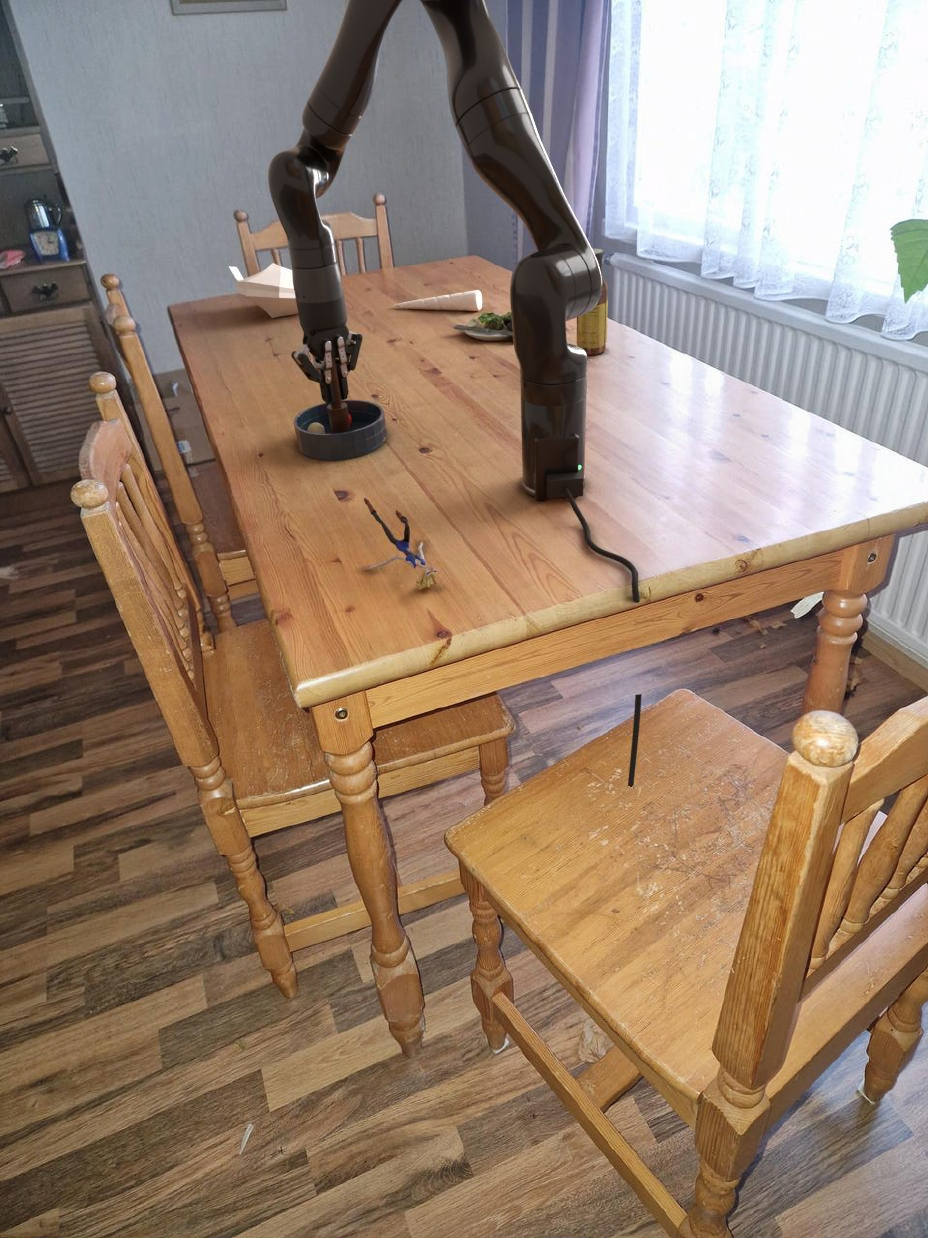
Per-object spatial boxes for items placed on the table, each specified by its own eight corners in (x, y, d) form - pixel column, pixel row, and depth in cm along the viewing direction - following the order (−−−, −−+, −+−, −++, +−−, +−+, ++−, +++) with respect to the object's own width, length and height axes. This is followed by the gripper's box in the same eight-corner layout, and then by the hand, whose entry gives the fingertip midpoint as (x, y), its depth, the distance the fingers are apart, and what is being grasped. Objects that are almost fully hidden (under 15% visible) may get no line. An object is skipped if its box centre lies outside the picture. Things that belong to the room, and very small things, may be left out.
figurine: (411, 648, 103) (351, 545, 114) (469, 613, 103) (404, 513, 114) (384, 608, 94) (322, 500, 105) (447, 570, 95) (379, 466, 105)
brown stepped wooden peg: (349, 434, 138) (337, 352, 130) (330, 435, 138) (316, 353, 130) (351, 426, 141) (339, 345, 133) (332, 427, 141) (318, 347, 133)
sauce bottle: (586, 344, 174) (589, 245, 162) (612, 349, 170) (616, 247, 159) (569, 353, 170) (571, 252, 158) (595, 358, 166) (598, 255, 155)
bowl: (384, 456, 134) (381, 431, 132) (292, 463, 134) (287, 437, 132) (389, 420, 147) (386, 396, 144) (304, 426, 147) (300, 402, 144)
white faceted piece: (348, 304, 213) (341, 253, 205) (284, 330, 197) (274, 276, 190) (280, 295, 225) (271, 247, 217) (214, 319, 209) (202, 268, 202)
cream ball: (325, 442, 139) (322, 426, 137) (307, 443, 139) (304, 427, 137) (327, 435, 141) (324, 419, 140) (310, 436, 141) (307, 420, 140)
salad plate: (448, 345, 179) (447, 324, 177) (459, 321, 193) (458, 301, 191) (536, 343, 177) (536, 322, 174) (540, 319, 191) (540, 299, 188)
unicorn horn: (398, 303, 210) (396, 284, 207) (484, 308, 202) (483, 287, 199) (390, 309, 206) (388, 289, 203) (477, 313, 198) (476, 293, 195)
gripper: (298, 308, 120) (318, 419, 131) (368, 286, 128) (381, 392, 138) (269, 301, 125) (290, 408, 135) (338, 280, 132) (353, 384, 143)
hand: (336, 400), depth 137 cm, fingers closed on brown stepped wooden peg, 2 cm apart
